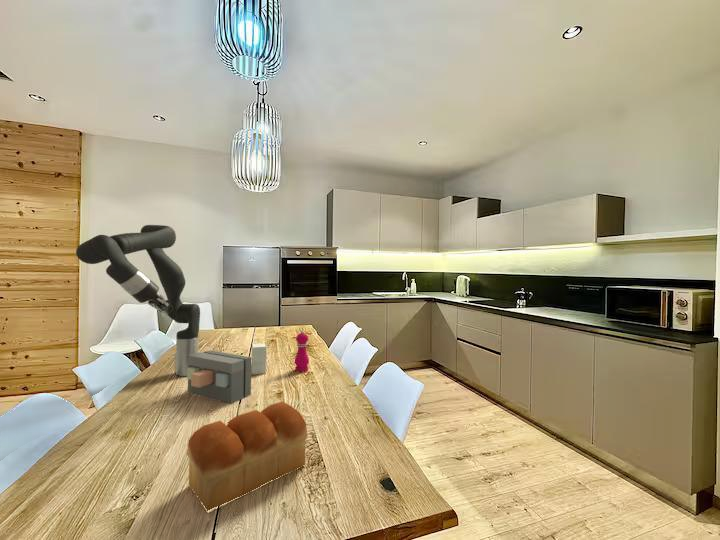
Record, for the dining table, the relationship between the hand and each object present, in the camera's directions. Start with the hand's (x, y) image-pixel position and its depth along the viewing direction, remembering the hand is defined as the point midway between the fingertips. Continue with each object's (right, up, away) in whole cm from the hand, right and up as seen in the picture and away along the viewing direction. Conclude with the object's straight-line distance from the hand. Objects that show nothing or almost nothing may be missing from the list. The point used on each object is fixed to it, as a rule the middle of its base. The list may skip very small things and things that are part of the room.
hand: (176, 318), depth 120 cm
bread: (+41, -33, -41) cm, 66 cm away
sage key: (+3, -26, +12) cm, 28 cm away
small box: (+18, -32, +40) cm, 54 cm away
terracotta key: (+8, -26, +5) cm, 27 cm away
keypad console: (+11, -32, +11) cm, 36 cm away
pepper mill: (+39, -33, +43) cm, 67 cm away
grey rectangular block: (+17, -26, +5) cm, 31 cm away
